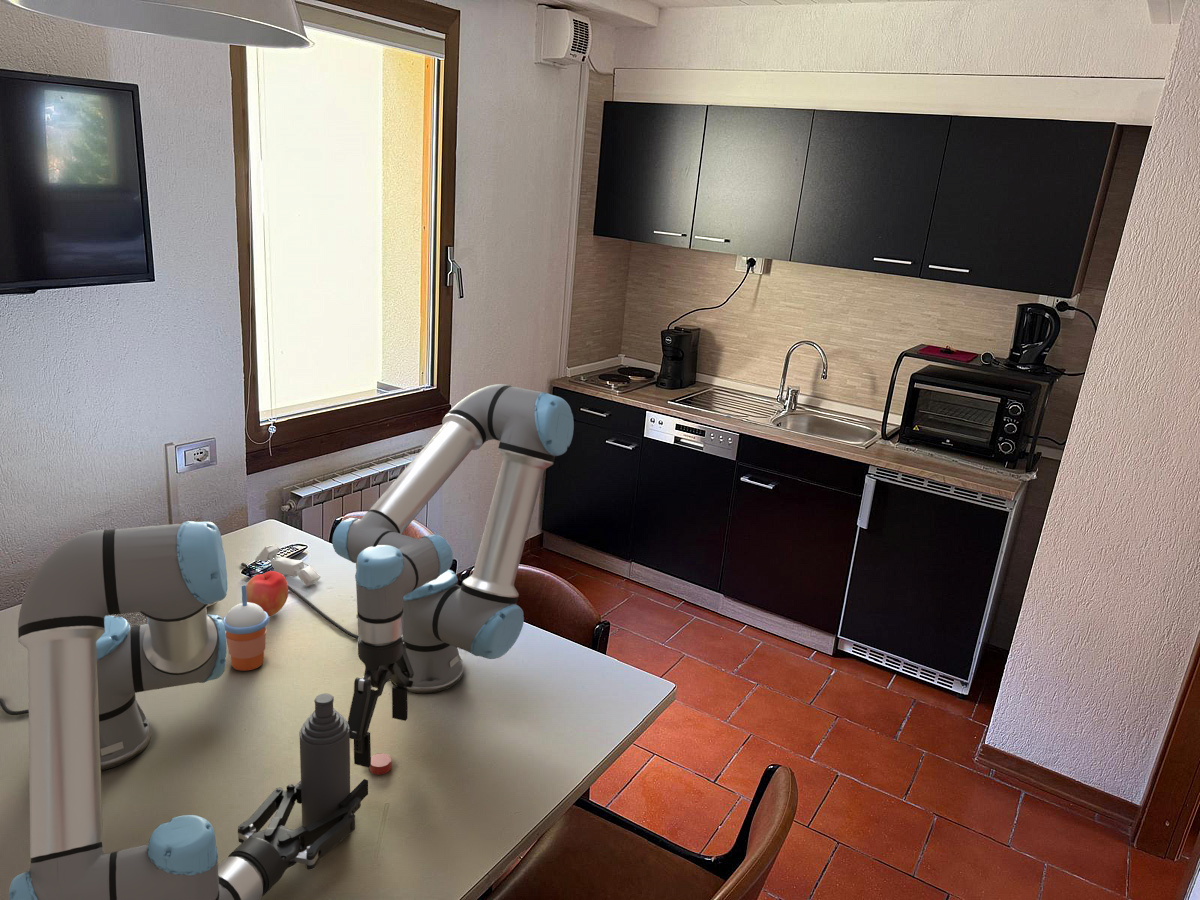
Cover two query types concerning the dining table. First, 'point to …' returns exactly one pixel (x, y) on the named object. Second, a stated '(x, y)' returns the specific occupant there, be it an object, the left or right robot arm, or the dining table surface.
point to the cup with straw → (246, 634)
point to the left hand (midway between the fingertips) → (345, 779)
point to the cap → (380, 763)
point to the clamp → (288, 565)
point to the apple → (268, 591)
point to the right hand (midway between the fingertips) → (382, 740)
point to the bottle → (324, 761)
